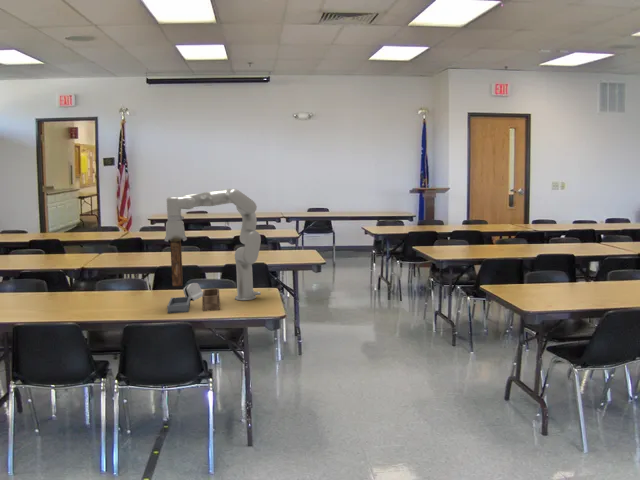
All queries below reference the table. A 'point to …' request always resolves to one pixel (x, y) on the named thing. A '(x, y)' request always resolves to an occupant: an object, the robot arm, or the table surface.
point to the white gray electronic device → (193, 291)
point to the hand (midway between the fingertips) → (176, 251)
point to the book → (176, 263)
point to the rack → (211, 299)
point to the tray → (178, 305)
